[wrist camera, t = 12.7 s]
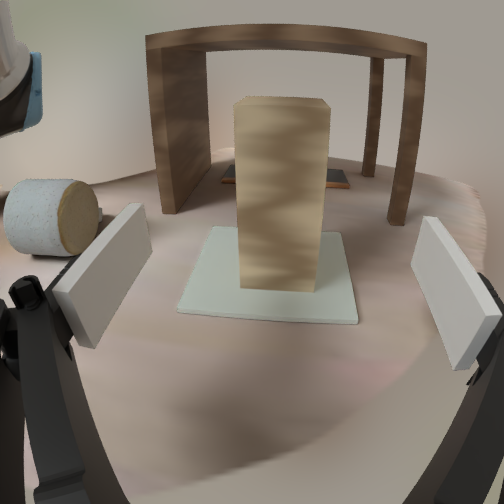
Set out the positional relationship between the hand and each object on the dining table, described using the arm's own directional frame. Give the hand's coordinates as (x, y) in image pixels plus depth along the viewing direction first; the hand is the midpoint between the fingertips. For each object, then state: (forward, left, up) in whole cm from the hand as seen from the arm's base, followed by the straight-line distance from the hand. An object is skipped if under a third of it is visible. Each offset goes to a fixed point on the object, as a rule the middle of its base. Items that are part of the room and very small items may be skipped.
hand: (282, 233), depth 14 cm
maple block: (0, +7, -7) cm, 10 cm away
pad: (-1, +7, -7) cm, 10 cm away
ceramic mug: (-21, +10, -8) cm, 25 cm away
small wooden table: (0, +24, -7) cm, 25 cm away
